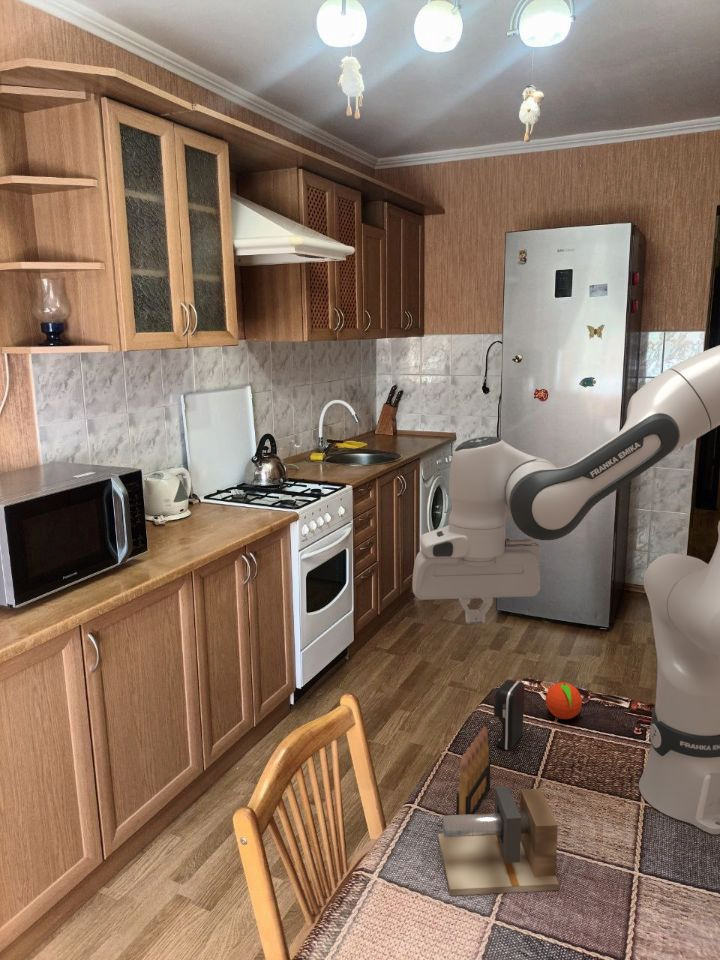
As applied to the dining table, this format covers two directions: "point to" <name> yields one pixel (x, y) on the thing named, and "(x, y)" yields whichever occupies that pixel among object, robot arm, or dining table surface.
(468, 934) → the dining table surface
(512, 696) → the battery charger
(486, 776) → the ammunition clip
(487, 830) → the steel pipe
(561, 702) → the clementine
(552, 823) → the pipe stand
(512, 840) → the collar
